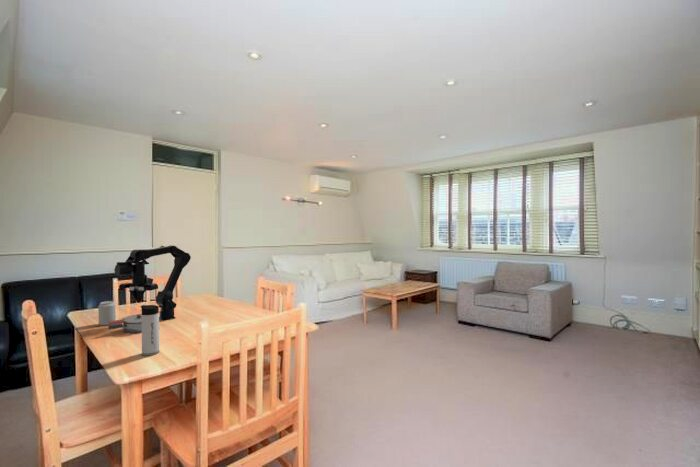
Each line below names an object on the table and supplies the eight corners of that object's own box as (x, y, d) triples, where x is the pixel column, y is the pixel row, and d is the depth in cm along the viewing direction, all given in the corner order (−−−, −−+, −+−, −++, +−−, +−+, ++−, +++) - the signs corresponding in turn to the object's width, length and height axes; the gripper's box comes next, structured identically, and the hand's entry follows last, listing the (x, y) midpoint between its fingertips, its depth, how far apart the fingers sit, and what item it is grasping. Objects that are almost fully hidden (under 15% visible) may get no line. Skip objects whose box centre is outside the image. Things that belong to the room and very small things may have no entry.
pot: (156, 322, 186) (156, 313, 186) (165, 327, 177) (165, 318, 176) (105, 332, 169) (105, 322, 169) (112, 338, 160) (112, 328, 160)
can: (106, 326, 179) (106, 303, 178) (95, 325, 180) (94, 303, 180) (119, 322, 186) (118, 300, 186) (107, 321, 188) (107, 300, 187)
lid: (150, 314, 184) (150, 309, 184) (160, 319, 174) (160, 314, 174) (105, 322, 169) (105, 317, 169) (112, 328, 159) (112, 323, 159)
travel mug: (145, 350, 144) (145, 303, 144) (162, 350, 145) (161, 303, 144) (137, 356, 138) (137, 307, 138) (154, 355, 139) (154, 307, 138)
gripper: (164, 271, 187) (165, 300, 187) (134, 271, 190) (134, 299, 190) (150, 274, 176) (150, 304, 176) (117, 273, 178) (118, 303, 179)
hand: (138, 302), depth 181 cm, fingers closed
